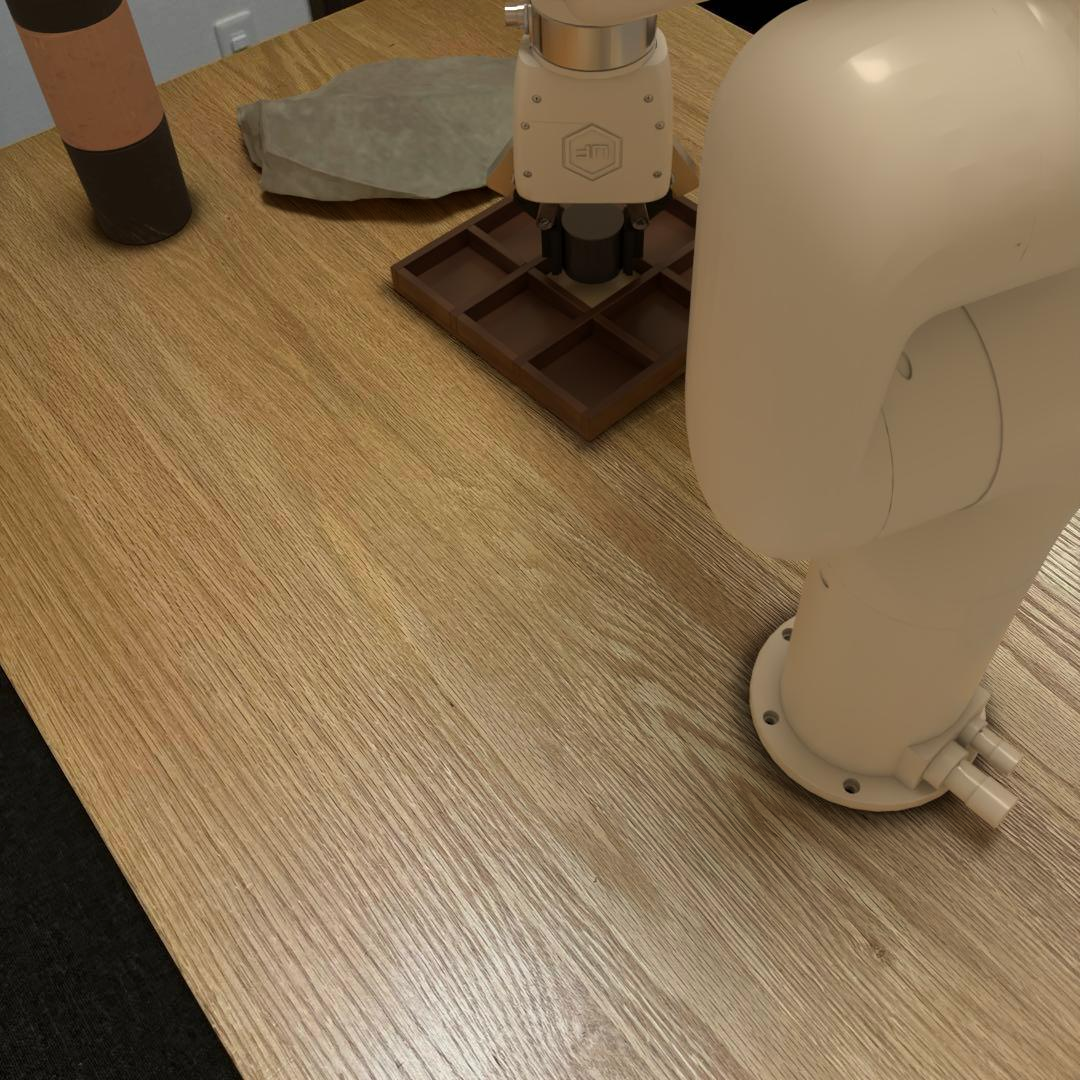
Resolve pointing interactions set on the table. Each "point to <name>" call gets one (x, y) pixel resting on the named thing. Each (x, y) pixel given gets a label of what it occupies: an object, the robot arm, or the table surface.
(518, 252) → the board
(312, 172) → the rock
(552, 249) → the robot arm
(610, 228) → the dark cylinder
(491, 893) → the table surface
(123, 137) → the travel mug
